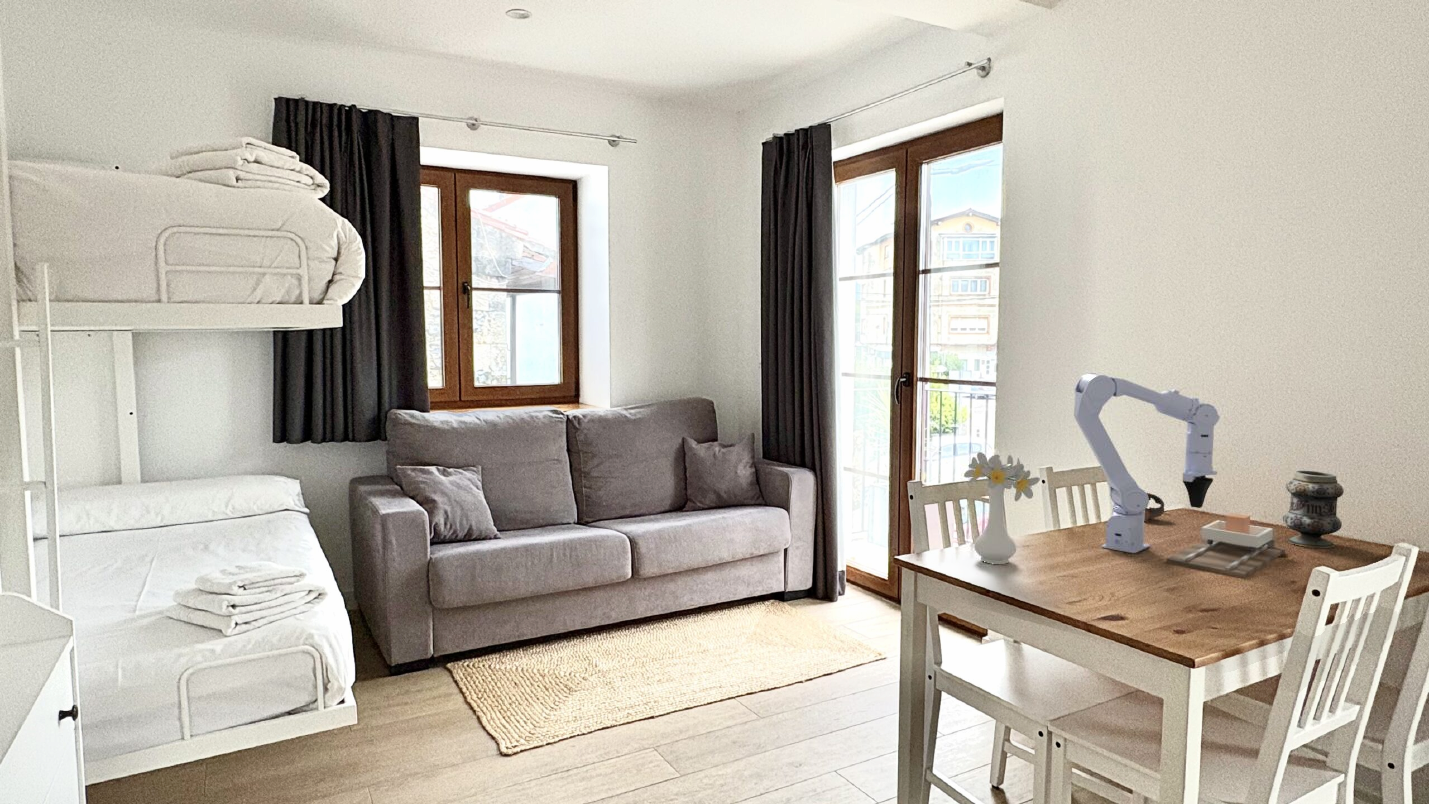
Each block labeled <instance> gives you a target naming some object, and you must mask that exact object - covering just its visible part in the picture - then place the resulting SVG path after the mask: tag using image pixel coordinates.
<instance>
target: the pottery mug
mask: <svg viewBox="0 0 1429 804" xmlns="http://www.w3.org/2000/svg"><path fill="white" fill-rule="evenodd" d="M1146 493H1147V495H1148V497H1149V501H1151V500H1154V502H1155V504H1158V505H1160V506H1158V507H1149V508H1148V507H1147V508H1146V509H1145V518H1144V521H1146V522H1148V520H1149V519H1151V520H1152V519H1155V518H1158V517H1161V516H1162V515H1163V514H1164V513H1165V502H1164V501H1163V500H1162V498H1161V497H1159V496H1157V495H1156V494H1154V493H1153V494H1152V493H1150V492H1146Z"/></svg>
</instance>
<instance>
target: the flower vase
mask: <svg viewBox="0 0 1429 804" xmlns="http://www.w3.org/2000/svg"><path fill="white" fill-rule="evenodd" d="M968 468H969V469H968V470H966V471H965V472H964V473H963V477H964V478H966V479H967V478H968V479H969V478H970V479H969V481H968V482H967V483H968V484H967V486H968V487H970V486H972V485H973V484H974V483H975V482H976V481H977V480H978V479H980V478H984V477H986V478H988V480H986V484H987V487H988V493H989V506H988V507H989V510H988V519H987V524H986V526H985V529H984V531H983V532H982V533H981V534H980V535H978V537H977V538H976V539H975V542H974V547H973V548H974V551H975V553H977V555H978V556H980V560H981V562H983V561H985V562H987V563H986V564H988V563H993V564H992V565H994V564H1003V565H1007V564H1008V563H1009V562H1010V559H1011V558H1012V557H1014V555H1015V554H1016V553H1017V545H1016V542H1015V541H1014V540H1013V538H1012V537H1011V536H1010V535H1009V534H1008V532H1007V529H1006V526H1005V521H1004V495H1005V489H1007V490H1010V489H1012V488H1013V489H1015V494H1014V501H1015V502H1018V501H1019V500H1020V499H1021V497H1022V495H1024V496H1025V497H1026V498H1027V499H1032V498H1033V497H1034V492H1033V490H1032V486H1035V485H1037V484H1039V482H1040V481H1041V478H1040V477H1038V476H1035V477H1030V476H1031V470H1025V466H1024V464H1023V463H1021V462H1020V458H1019V457H1017V459H1016V463H1015V464H1014V459H1013V456H1012V455H1011V454H1009V455H1008V456H1007V459H1006V463H1003V462H1002V460H1001V458H1000V455H999V454H994V455H992V456H991V457H989V458H987V456H986V455H985V454H984V453H983V452H980V451H979V452H978V453H976V457H975V456H973V457H972V458H971V463H970V464H968ZM985 562H984V563H985ZM1006 563H1007V564H1006Z"/></svg>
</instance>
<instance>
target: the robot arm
mask: <svg viewBox="0 0 1429 804" xmlns="http://www.w3.org/2000/svg"><path fill="white" fill-rule="evenodd" d="M1121 396H1122V397H1123V396H1127V397H1129V398H1133V399H1136V400H1138V401H1142V402H1145V403H1149V404H1151V405H1153V406H1154V407H1155V410H1156V411H1157V413H1160V414H1163V415H1166V416H1168V417H1171V418H1174V419H1177V420H1180V421H1184V422H1185V423H1187V424H1186V437H1185V453H1184V454H1185V457H1184V458H1185V459H1184V468H1183V472H1182V483H1183V484H1184V487H1185V488H1186V490H1187V491H1186V492H1187V495H1188V499H1189V503H1190V504H1189V505H1190V508H1197V509H1201V508H1203V505H1204V502H1205V499H1206V495H1207V493H1208V490H1209V488H1210V486H1211V485H1212V484H1213V481H1214V478H1212V477H1207V476H1210V475H1211V476H1213V475H1214V476H1215V475H1218V471H1217V470H1214V467H1213V454H1214V435H1215V433H1214V431H1215V426H1216V425H1217V423H1218V422H1219V420H1220V415H1219V414H1218V410H1217V409H1216V408H1215V406H1214V405H1212V404H1209V403H1205V402H1201V401H1200V400H1199V398H1197V397H1192V398H1191V397H1188V396H1186V395H1183V394H1180V391H1179V390H1176V389H1171V390H1169V389H1167V390H1164V391H1161V392H1158V391H1155V390H1152V389H1150V388H1147V387H1145V386H1143V385H1140V384H1137V383H1134V382H1132V381H1129V380H1126V379H1123V378H1118V377H1113V376H1108V375H1105V374H1103V375H1102V374H1097V373H1093V372H1088V373H1085V374H1083V375H1082V376H1081V377H1079V380H1078V381H1077V384H1076V385H1075V387H1074V397H1075V398H1074V407H1073V409H1074V410H1073V416H1074V419H1075V421H1076V423H1077V425H1078V427H1079V429H1080V430H1081V432H1082V433H1083V436H1084V438H1085V440H1086V441H1087V444H1088V445H1089V447H1090V449H1091V451H1092V453H1093V455H1094V456H1095V459H1096V460H1097V461H1098V465H1099V466H1100V467H1101V470H1102V471H1103V473H1104V474H1105V477H1106V479H1107V480H1106V484H1107V485H1108V487H1109V496H1110V499H1111V501H1112V503H1114V504H1113V505H1112V507H1111V516H1110V517H1109V518H1108V519H1107V522H1106V528H1105V543H1104V544H1101V548H1105V549H1110V550H1115V551H1121V552H1125V553H1130V554H1131V553H1132V554H1136V553H1139V552H1140V551H1142V550H1145V549H1147V548H1149V547H1150V544H1148V543H1144V539H1145V538H1144V537H1145V535H1144V534H1145V522H1144V518H1145V509H1146V508H1148V506H1149V503H1150V500H1149V497H1148V495H1147V493H1148V492H1146V491H1145V490H1143V489H1142V488H1141V487H1139V485H1138V483H1137V482H1136V480H1135V478H1133V477H1132V475H1131V474H1130V473H1129V471H1128V469H1127V468H1126V466H1125V464H1124V461H1123V460H1122V458H1121V456H1120V455H1119V452H1118V451H1117V448H1116V447H1115V445H1114V443H1113V441H1112V439H1111V437H1110V436H1109V433H1108V432H1107V430H1106V428H1105V426H1104V424H1103V422H1102V421H1101V419H1100V414H1101V412H1102V409H1103V406H1105V405H1106V404H1107V403H1108V402H1109V401H1110V400H1111V399H1112V397H1115V398H1118V397H1119V398H1120V397H1121Z"/></svg>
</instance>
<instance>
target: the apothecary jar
mask: <svg viewBox="0 0 1429 804" xmlns="http://www.w3.org/2000/svg"><path fill="white" fill-rule="evenodd" d="M1285 489H1286V491H1287V492H1288V493H1290V501H1289V510H1288V511H1286V512H1285V513H1284V514H1283V515H1282V521H1283V523H1284V524H1285V526H1287V527H1288V528H1289V529H1291V530H1293V531H1295V532H1298V533H1299V534H1300V535H1295V536H1292V537H1289V538H1287V539H1286V542H1287V541H1288V543H1289V544H1291V545H1294V544H1295V545H1294V546H1297V545H1299V547H1302V546H1306V547H1305V548H1309V547H1311V548H1310V549H1321V548H1326V549H1332V548H1331V547H1333V546H1335V547H1336V545H1335V543H1334V542H1332V541H1331V540H1328V539H1326V538H1323V537H1322V536H1324V535H1326V536H1327V535H1331V534H1334V533H1337V532H1338V531H1340V529H1341V528H1342V526H1343V524H1342V520H1341V519H1340V518H1339V517H1338V516H1337V507H1338V499H1339V498H1340V497H1342V496H1343V495H1344V493H1345V490H1344V487H1343V486H1342V485H1341V484H1340V483H1338V480H1337V475H1336V474H1335V473H1331V472H1327V471H1326V472H1325V471H1320V470H1309V469H1307V470H1306V469H1304V470H1303V469H1302V470H1301V469H1299V470H1294V476H1293V478H1291V479H1290V480H1288V481H1287V482H1286V484H1285Z"/></svg>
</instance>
